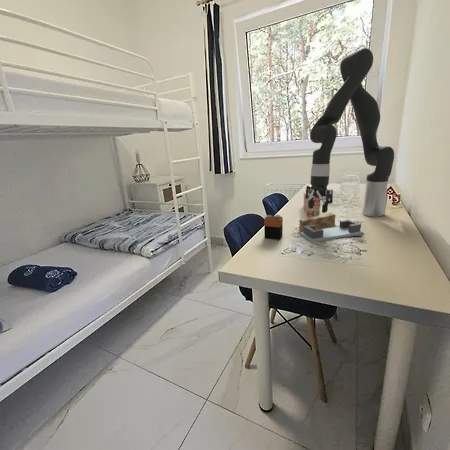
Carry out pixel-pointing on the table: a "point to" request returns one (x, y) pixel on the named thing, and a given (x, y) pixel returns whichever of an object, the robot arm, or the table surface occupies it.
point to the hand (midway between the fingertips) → (317, 210)
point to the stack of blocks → (316, 206)
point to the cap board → (332, 231)
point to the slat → (318, 221)
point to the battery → (273, 227)
